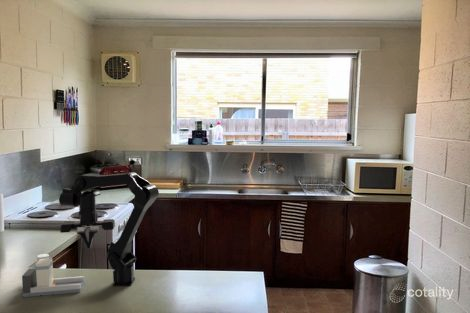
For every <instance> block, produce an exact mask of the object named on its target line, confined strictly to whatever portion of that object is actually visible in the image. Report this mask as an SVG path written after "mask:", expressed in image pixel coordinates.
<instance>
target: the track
mask: <svg viewBox="0 0 470 313" xmlns="http://www.w3.org/2000/svg"><path fill="white" fill-rule="evenodd" d="M21 280H22V281H21V282H22V298H28V297H29V298H30V297H39V296H40V295H42V296H51V295H52V294H54V295H62V294H63V295H64V294H74V293H81V291H82V289H83V287H84V285H85V276H84V275H82V276H80V275H79V276H70V277H69V276H66V277H59V278H58V277H55V278H54V277H53V284H52V285H51V286H44V287H37V276H36V268H35V267H33V268H31V267H30V268H28V269H27V270H26V271H25V272H24V273H23V274H22V276H21ZM52 296H53V295H52Z"/></svg>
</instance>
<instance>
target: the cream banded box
mask: <svg viewBox="0 0 470 313" xmlns="http://www.w3.org/2000/svg"><path fill="white" fill-rule="evenodd" d="M37 261H38V260H37ZM37 261H36V262H37ZM36 262H35V264H36V276H37V287H44V286H51V285H52V284H53V279H54V267H53V266H54V264H53V263H54V262H53V257H49V258H47V259H40V260H39V261H38V262H37V263H36Z"/></svg>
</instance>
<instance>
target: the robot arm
mask: <svg viewBox="0 0 470 313" xmlns="http://www.w3.org/2000/svg"><path fill="white" fill-rule="evenodd" d="M114 185H115V186H116V185H118V186H119V185H126V186H127V188H128V189H129V191H130V192H131V193H132V194H133V196H134V197H133V198H134V199H133V204H134V205H133V209H132V211H131V212H130V214H129V217H128V219H127V222H126V223H125V225H124V227H123V229H122V232H121V234H120V235H119V238H117V239H114V240H113V241H111V242H110V244H109V247H108V249H107V250H106V257H107V260H108V262H109V264H110V267H111V268H110V269H112V270H113V271H112V275H113V276H112V278H113V279H112V280H113V286H117V287H118V286H132V284H133V283H134V281H135V280H136V277H135V276H134V274H135V273H134V264H135V263H136V261H137V257H136V255H134V253H133V252H132V248H133V245H132V244H133V243H132V241H133V239H134V237H135V235H136V233H137V232H138V229H139V227H140V224H141V223H142V221H143V218H144V216H145V214H146V212H147V210H148V209H149V208H150V207H151V206H152V204H153V203H154V202H155V201H156V200H157V198H158V197H159V193H160V191H159V189H158V187H157V186H156V185H154V184H152V183H151V182H149V181H148V180H147V179H145V178H143V177H141V176H140V175H139V174H137V173H136V172H134V171H131V172H125V173H115V174H114V173H113V174H105V175H104V174H100V173H93V172H92V173H85V174H82V175H81V174H80V175H78V176H77V177H76V179H75V182H74V184H73V185H72V187H71V188H69V187H68V188H67V187H65V188H62V192H61V193H60V194H59V198H58V203H59V205H60V206H62V207H70V208H72V207H74V208H76V207H78V209H79V211H78V220H79V222H78V223H76V222H75V220H74V221H73V220H72V221H71V220H70V221H64V222H63V223H61V225H60V227H59V231H60V233H61V234H62V233H70V232H71V231H72V230H77V231H76V234H77V235H79V236H80V237H81V238H82V239H83V241H84V244H85V246H86V248H87V249H90V248H92V243H93V240H94V237H95V234H96V233H99V231H100V228H101V229H103V230H104V231H110V230H111V231H112V230H114V228H115V226H116V221H115V219H113V218H111V219H110V218H109V219H107V218H106V219H103V221H102V222H99V220H98V219H99V213H98V212H97V211H96V210H97V209H96V208H97V207H96V197H98V196H101V192H100V191H98V190H97V189H95V188H98V187H105V186H114ZM89 229H90V230H89Z"/></svg>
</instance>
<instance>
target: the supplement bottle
mask: <svg viewBox="0 0 470 313" xmlns="http://www.w3.org/2000/svg"><path fill="white" fill-rule="evenodd" d="M36 256H37V257H36V260H37V261H36V262H35V263H34V264H35V267H34V268H36V263H37V262H38V261H39V260H40V259H47V258H50V255H49V254H48V253H41V254H38V255H36Z"/></svg>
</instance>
